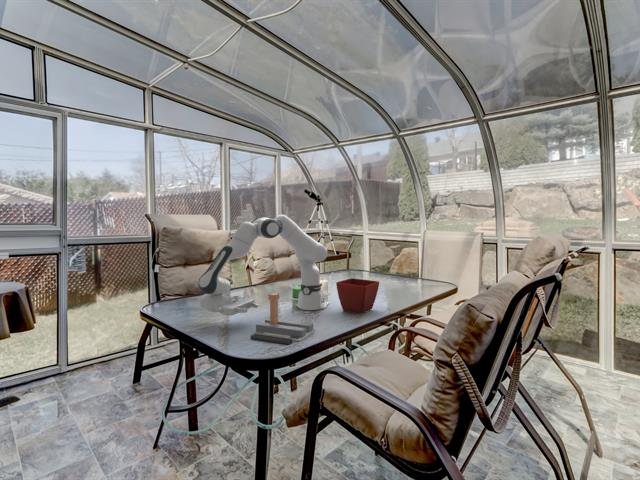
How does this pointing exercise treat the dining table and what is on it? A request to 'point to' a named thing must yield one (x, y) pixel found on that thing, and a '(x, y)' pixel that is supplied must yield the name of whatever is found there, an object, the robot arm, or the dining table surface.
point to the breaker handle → (273, 307)
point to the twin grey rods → (271, 339)
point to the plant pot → (357, 294)
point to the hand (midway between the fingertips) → (252, 308)
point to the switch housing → (285, 329)
